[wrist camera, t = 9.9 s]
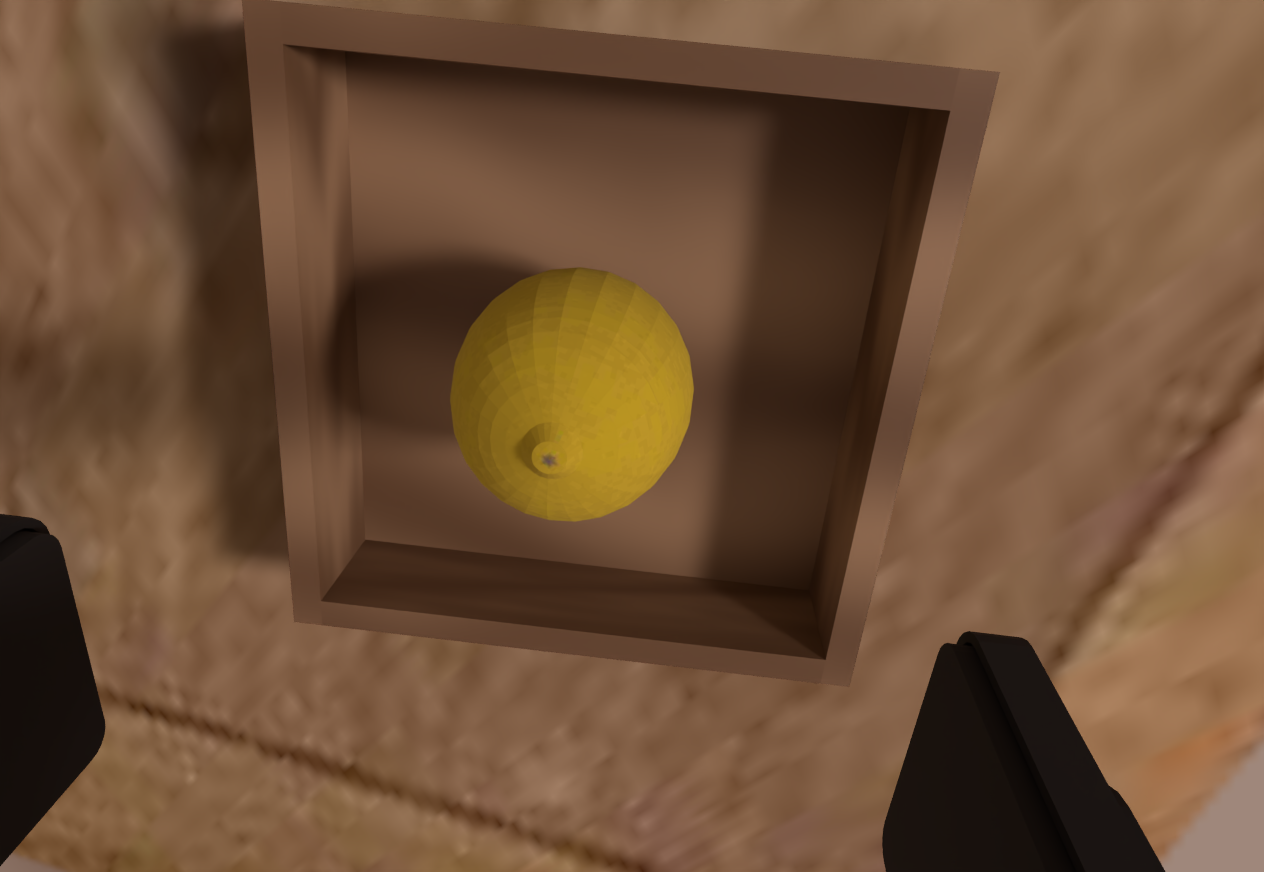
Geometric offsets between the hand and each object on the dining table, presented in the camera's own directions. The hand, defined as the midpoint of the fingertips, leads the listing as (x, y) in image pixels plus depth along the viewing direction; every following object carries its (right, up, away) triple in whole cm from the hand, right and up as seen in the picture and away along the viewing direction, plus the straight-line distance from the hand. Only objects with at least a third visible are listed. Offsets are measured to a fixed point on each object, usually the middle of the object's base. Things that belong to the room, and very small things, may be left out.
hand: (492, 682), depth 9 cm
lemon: (0, +5, +14) cm, 15 cm away
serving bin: (+1, +5, +15) cm, 16 cm away
